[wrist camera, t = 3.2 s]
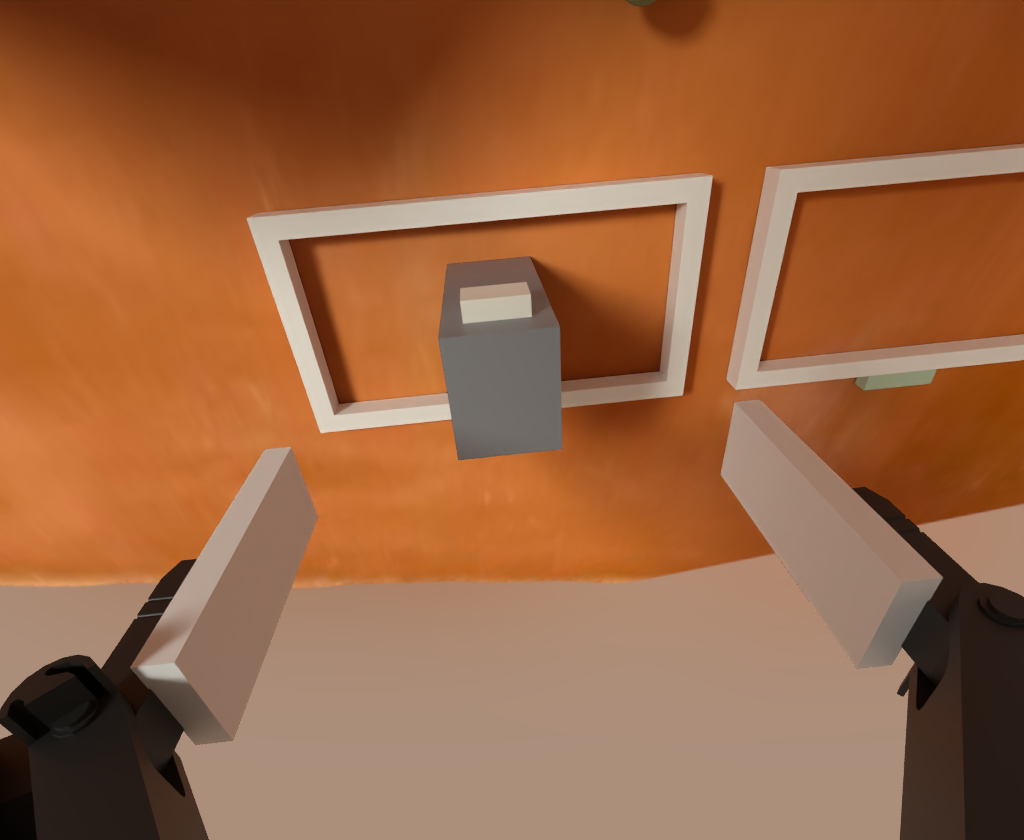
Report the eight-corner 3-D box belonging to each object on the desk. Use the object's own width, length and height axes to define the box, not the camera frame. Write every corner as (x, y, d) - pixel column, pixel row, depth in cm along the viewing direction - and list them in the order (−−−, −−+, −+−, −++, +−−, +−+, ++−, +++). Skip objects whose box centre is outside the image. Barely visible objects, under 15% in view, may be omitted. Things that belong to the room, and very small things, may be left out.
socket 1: (331, 438, 28) (326, 450, 27) (256, 212, 22) (246, 218, 21) (672, 402, 29) (680, 413, 28) (701, 172, 22) (712, 175, 21)
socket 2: (722, 397, 29) (732, 408, 28) (766, 166, 22) (780, 169, 21) (1048, 363, 29) (1069, 372, 28) (1185, 128, 23) (1219, 129, 22)
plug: (460, 358, 26) (458, 460, 19) (444, 247, 23) (434, 315, 15) (534, 350, 26) (562, 449, 19) (528, 239, 23) (559, 302, 16)
